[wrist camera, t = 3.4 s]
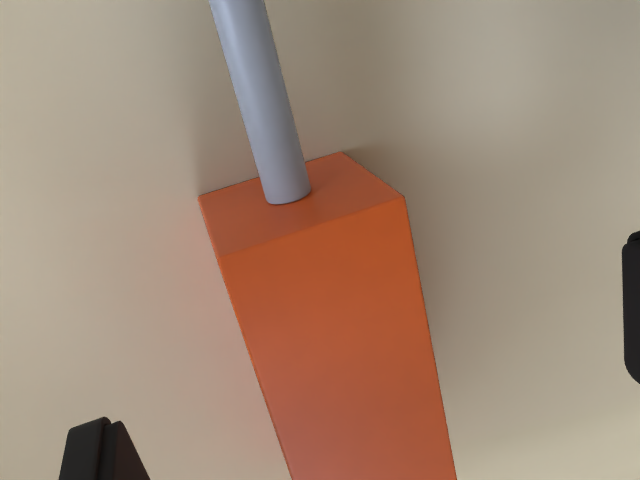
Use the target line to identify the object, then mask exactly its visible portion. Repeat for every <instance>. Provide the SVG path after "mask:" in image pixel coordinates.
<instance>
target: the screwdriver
mask: <svg viewBox="0 0 640 480" xmlns="http://www.w3.org/2000/svg"><path fill="white" fill-rule="evenodd" d="M208 1H209V4H210V8H211V11H212V15H213V18H214V21H215V25H216V28H217V32H218V35H219V39H220V42H221V46H222V49H223V53H224V56H225V59H226V63H227V66H228V70H229V73H230V77H231V80H232V84H233V87H234V91H235V94H236V97H237V101H238V104H239V108H240V111H241V115H242V118H243V122H244V125H245V129H246V132H247V136H248V139H249V142H250V146H251V149H252V153H253V156H254V160H255V163H256V167H257V170H258V174H259V177H258V178H254V179H251V180H248V181H245V182H242V183H239V184H235V185H232V186H229V187H226V188H223V189H219V190H216V191H213V192H210V193H207V194H204V195H200V196H199V197H198V202H199V205H200V208H201V212H202V215H203V218H204V221H205V224H206V227H207V230H208V234H209V237H210V240H211V243H212V246H213V249H214V252H215V256H216V259H217V262H218V265H219V268H220V271H221V274H222V276H223V279H224V282H225V285H226V288H227V291H228V294H229V297H230V300H231V303H232V306H233V309H234V312H235V315H236V317H237V320H238V323H239V326H240V329H241V332H242V335H243V338H244V341H245V344H246V347H247V350H248V353H249V356H250V358H251V361H252V364H253V367H254V370H255V373H256V376H257V379H258V382H259V385H260V388H261V391H262V394H263V397H264V399H265V402H266V405H267V408H268V411H269V414H270V417H271V420H272V423H273V426H274V429H275V432H276V435H277V437H278V440H279V443H280V446H281V449H282V452H283V455H284V458H285V461H286V464H287V467H288V470H289V473H290V476H291V478H292V480H457V477H456V472H455V466H454V461H453V455H452V450H451V444H450V439H449V434H448V428H447V423H446V417H445V412H444V407H443V401H442V396H441V390H440V385H439V380H438V374H437V369H436V363H435V358H434V352H433V347H432V342H431V336H430V331H429V325H428V320H427V315H426V309H425V304H424V298H423V293H422V288H421V282H420V277H419V271H418V266H417V260H416V255H415V250H414V244H413V239H412V233H411V228H410V223H409V217H408V212H407V206H406V201H405V197H404V196H403V195H401V194H400V193H399V192H397V191H396V190H395V189H393V188H392V187H390V186H389V185H388V184H386V183H385V182H383V181H382V180H381V179H379V178H378V177H376V176H375V175H374V174H372V173H371V172H369V171H368V170H367V169H365V168H364V167H362V166H361V165H360V164H358V163H357V162H356V161H354V160H353V159H351V158H350V157H349V156H347V155H346V154H344V153H343V152H337V153H334V154H331V155H328V156H324V157H321V158H318V159H315V160H312V161H309V162H304V158H303V154H302V150H301V146H300V142H299V138H298V134H297V130H296V126H295V122H294V118H293V115H292V111H291V107H290V103H289V99H288V95H287V91H286V87H285V83H284V79H283V75H282V71H281V67H280V63H279V59H278V55H277V51H276V47H275V43H274V39H273V36H272V32H271V28H270V24H269V20H268V16H267V12H266V8H265V4H264V0H208Z"/></svg>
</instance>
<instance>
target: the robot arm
mask: <svg viewBox="0 0 640 480" xmlns="http://www.w3.org/2000/svg"><path fill="white" fill-rule="evenodd" d="M622 279H623V323H624V361H625V365H626V368H627V370H628V372H629V374H630V375H631V376H632V378H633V379H634V380H635V381H637V382H638V383H639V384H640V231H637V232H634V233H632V234H631V235H630V236H629V238H628V240H627V244H625V245H624V247H623V249H622ZM59 480H150V478H149V476H148V474H147V472H146V470H145V468H144V466H143V463H142V461H141V459H140V457H139V455H138V453H137V451H136V449H135V447H134V445H133V442H132V440H131V438H130V436H129V434H128V432H127V430H126V428H125V426H124V424H123V423H122V422H121V421H117V422H115V423H112V424H111V422H110V420H109V419H108V418H107V417H102V418H99V419H96V420H93V421H90V422H87V423H85V424H82V425H79V426H76V427H73V428H71V429H70V430H69V432H68V435H67V440H66V445H65V450H64V455H63V460H62V465H61V470H60V475H59Z"/></svg>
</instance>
